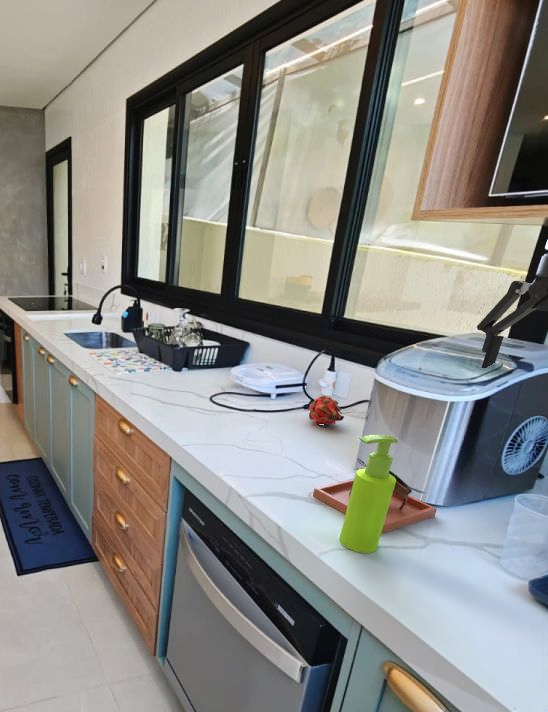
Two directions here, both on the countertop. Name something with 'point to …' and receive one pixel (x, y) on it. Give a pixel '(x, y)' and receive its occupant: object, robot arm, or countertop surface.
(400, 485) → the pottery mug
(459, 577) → the countertop surface
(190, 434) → the countertop surface
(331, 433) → the countertop surface
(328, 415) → the dragon fruit
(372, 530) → the soap dispenser
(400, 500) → the tray
